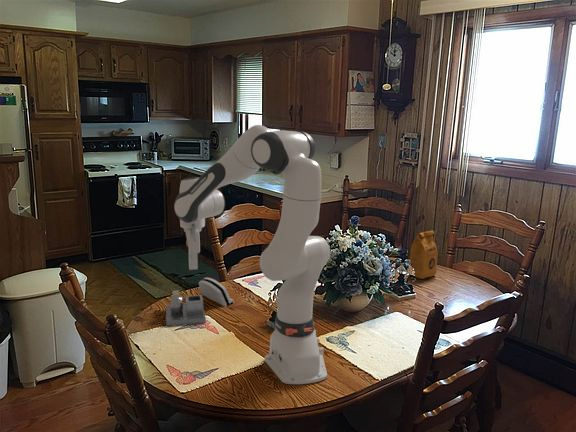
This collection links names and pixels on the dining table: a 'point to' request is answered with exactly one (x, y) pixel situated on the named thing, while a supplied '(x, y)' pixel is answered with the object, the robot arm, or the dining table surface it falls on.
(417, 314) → the dining table surface
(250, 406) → the dining table surface
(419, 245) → the coffee package
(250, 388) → the dining table surface
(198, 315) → the grey twin-post block
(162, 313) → the dining table surface
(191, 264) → the tan capped white cylinder
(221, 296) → the napkin holder
